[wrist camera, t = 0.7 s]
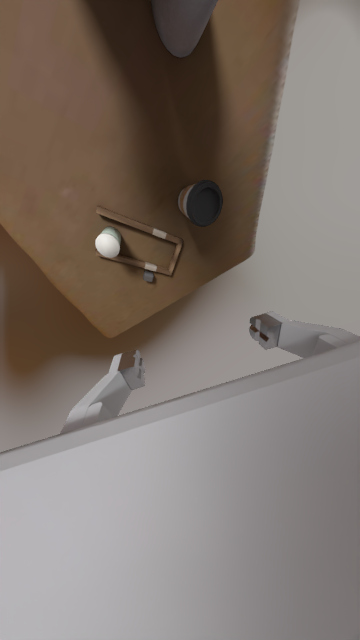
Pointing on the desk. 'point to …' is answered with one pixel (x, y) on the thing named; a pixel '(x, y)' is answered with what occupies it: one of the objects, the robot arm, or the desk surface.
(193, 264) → the desk surface
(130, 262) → the beam slot
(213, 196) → the coffee cup
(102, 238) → the mint green tumbler
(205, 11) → the pillar candle
